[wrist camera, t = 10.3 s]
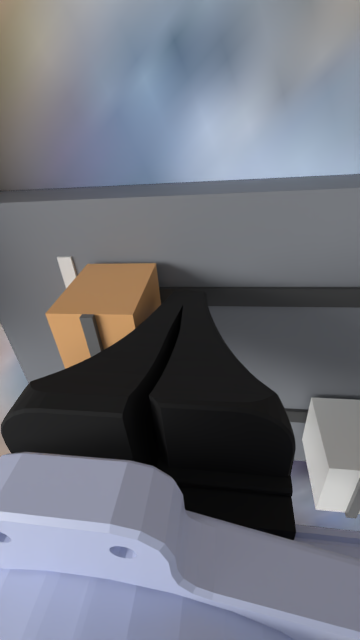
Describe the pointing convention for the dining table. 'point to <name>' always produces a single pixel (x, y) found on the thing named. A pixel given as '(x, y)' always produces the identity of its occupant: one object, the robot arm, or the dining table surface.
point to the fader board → (205, 270)
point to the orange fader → (102, 308)
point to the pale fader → (334, 454)
